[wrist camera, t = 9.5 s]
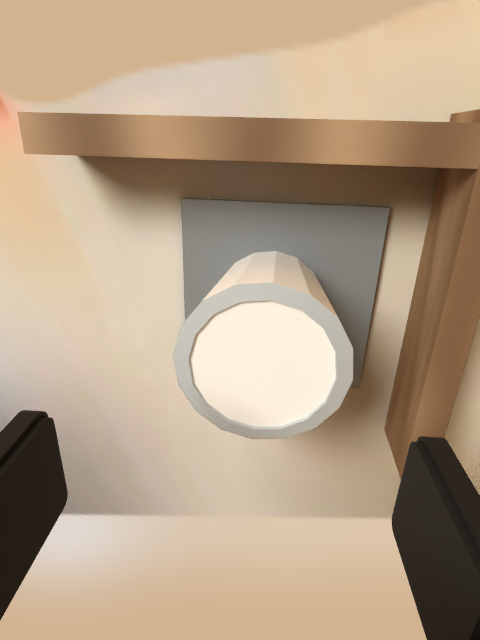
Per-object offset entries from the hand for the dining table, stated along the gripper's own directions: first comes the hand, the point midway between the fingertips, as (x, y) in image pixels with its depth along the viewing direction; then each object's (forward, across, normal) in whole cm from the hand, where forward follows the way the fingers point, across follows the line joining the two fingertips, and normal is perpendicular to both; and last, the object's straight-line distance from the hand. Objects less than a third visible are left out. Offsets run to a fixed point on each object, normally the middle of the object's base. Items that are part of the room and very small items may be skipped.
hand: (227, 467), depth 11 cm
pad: (+12, -2, 0) cm, 13 cm away
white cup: (+12, -1, 0) cm, 12 cm away
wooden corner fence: (+12, 0, 0) cm, 13 cm away
